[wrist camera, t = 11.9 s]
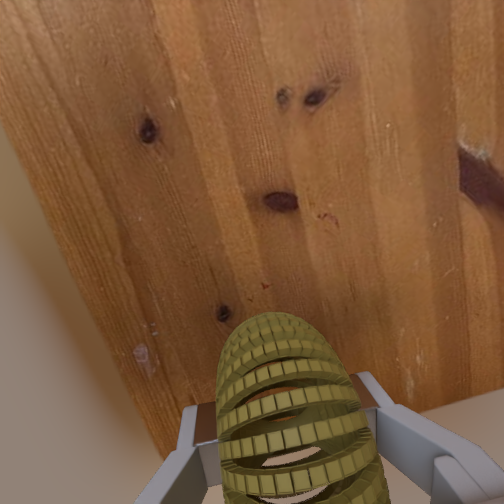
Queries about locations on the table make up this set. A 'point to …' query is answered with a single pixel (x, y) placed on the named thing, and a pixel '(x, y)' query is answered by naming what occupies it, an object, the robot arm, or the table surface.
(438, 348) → the table surface
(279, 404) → the sculpture
